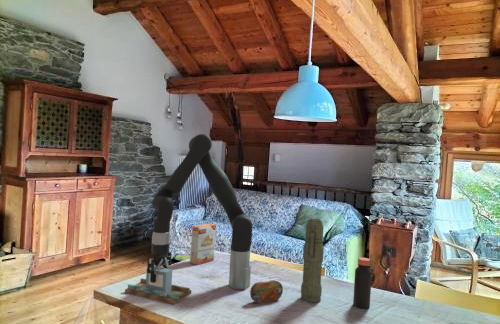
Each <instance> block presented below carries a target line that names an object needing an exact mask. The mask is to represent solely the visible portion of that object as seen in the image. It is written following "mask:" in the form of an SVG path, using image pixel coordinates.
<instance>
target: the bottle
mask: <svg viewBox="0 0 500 324" xmlns="http://www.w3.org/2000/svg"><path fill="white" fill-rule="evenodd" d="M370 265H371V259H370V258H368V257H358V258H357V267H355V269H354V281H353V282H354V285H353V299H352V302H353V306H354V307H356V308H359V309H368V308H370V307H371V306H370V305H371V291H372V275H373V274H372V273H373V271H372V270H371V269H370Z"/></svg>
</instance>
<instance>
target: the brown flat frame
mask: <svg viewBox="0 0 500 324" xmlns="http://www.w3.org/2000/svg"><path fill="white" fill-rule="evenodd" d="M139 281H140V282H138V283H136V284H131V283H129V284H127V288H125V289H124V294H128V295H133V296H136V297H137V296H138V297H141V298H145V299H149V300H153V301H157V302H162V303H167V304H171V305H177V304H178V303H180V302H181V301H182V300H184V299H186V298H187V297H188V296H190V295H191V294H192V290H191V289H190V288H189V287H185V286H181V285H176V284H172V286H171V291H169V292H164V291H159V290H155V289H150V288H146V278H140V280H139Z"/></svg>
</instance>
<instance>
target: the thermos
mask: <svg viewBox="0 0 500 324" xmlns="http://www.w3.org/2000/svg"><path fill="white" fill-rule="evenodd" d="M323 239H324V224H323V221H322V220H321V219H320V218H319V219H318V218H309V219H307V222H306V225H305V241H304V245H303V247H302V250H303V251H302V260H303V270H302V272H303V273H302V283H301V285H300V299H301V301H302V302H305V303H309V304H318V303H321V300H322V298H321V297H322V293H323V292H322V291H323V288H322V284H321V283H322V267H323V266H322V264H323V261H324V253H325V249H324V241H323Z"/></svg>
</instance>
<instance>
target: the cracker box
mask: <svg viewBox="0 0 500 324" xmlns="http://www.w3.org/2000/svg"><path fill="white" fill-rule="evenodd" d="M216 230H217V225H216V224H213V223H205V224H199V225H192V226H191V240H190V241H191V242H190V258H189V263H190V264H193V265H196V266H197V265H198V266H199V265H201V264H205V263H208V262H212V261H213V262H214V260H215V247H216V246H215V245H216V232H217V231H216Z"/></svg>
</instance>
